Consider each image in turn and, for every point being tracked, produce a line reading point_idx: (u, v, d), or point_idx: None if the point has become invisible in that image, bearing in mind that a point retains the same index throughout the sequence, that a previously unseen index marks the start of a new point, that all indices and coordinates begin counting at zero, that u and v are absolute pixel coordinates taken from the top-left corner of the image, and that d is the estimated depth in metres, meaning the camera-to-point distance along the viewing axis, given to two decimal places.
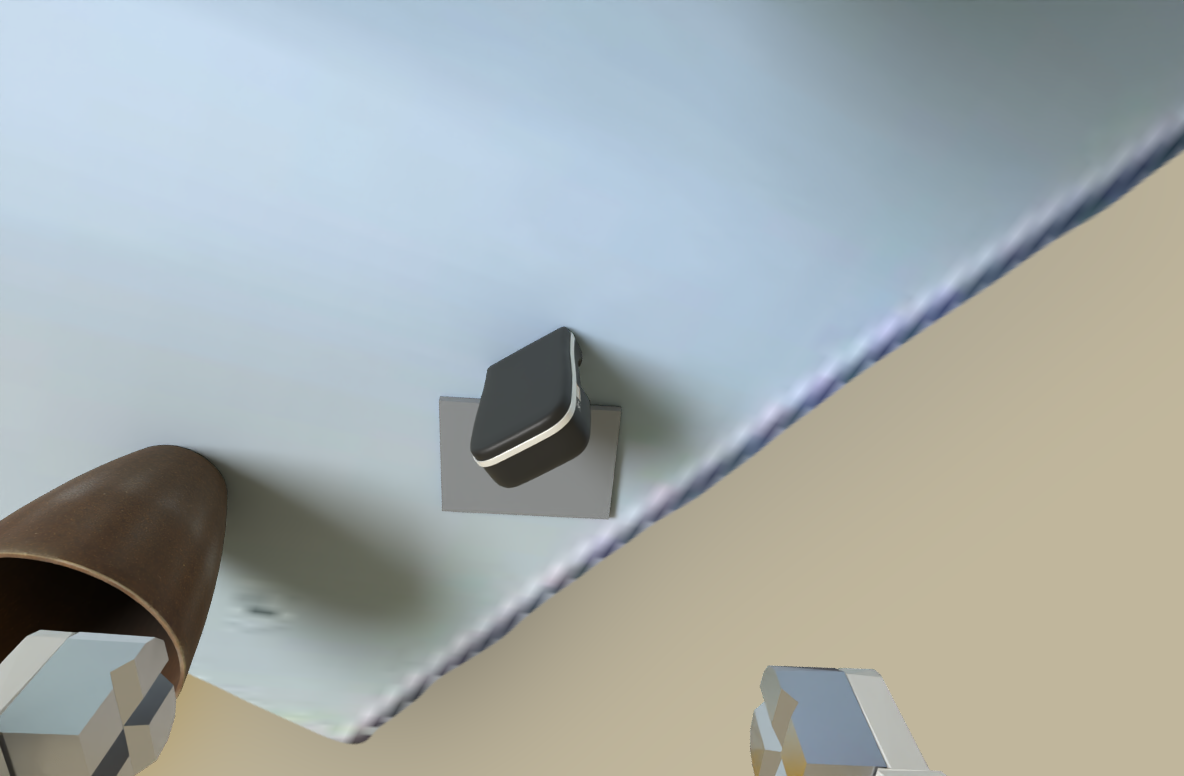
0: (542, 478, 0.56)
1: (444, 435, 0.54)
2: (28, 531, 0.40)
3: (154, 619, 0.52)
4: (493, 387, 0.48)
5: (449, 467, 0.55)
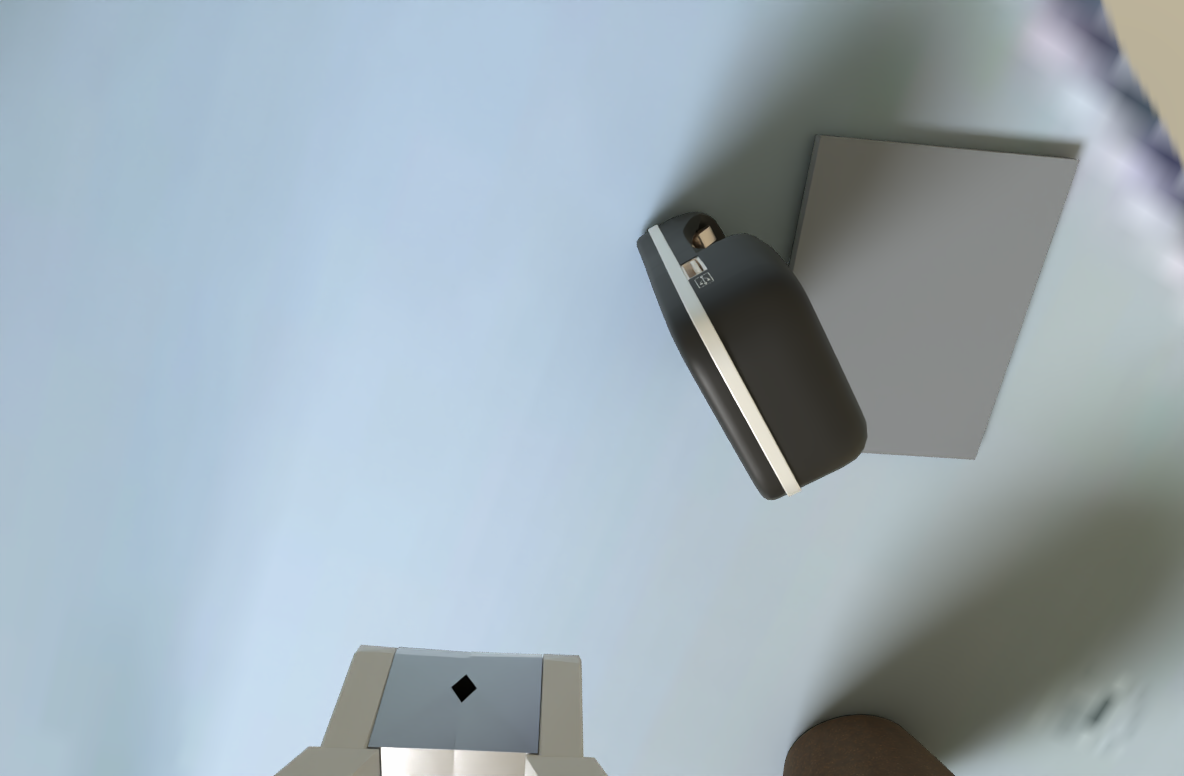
0: (945, 290, 0.30)
1: None
2: None
3: None
4: None
5: (888, 442, 0.32)
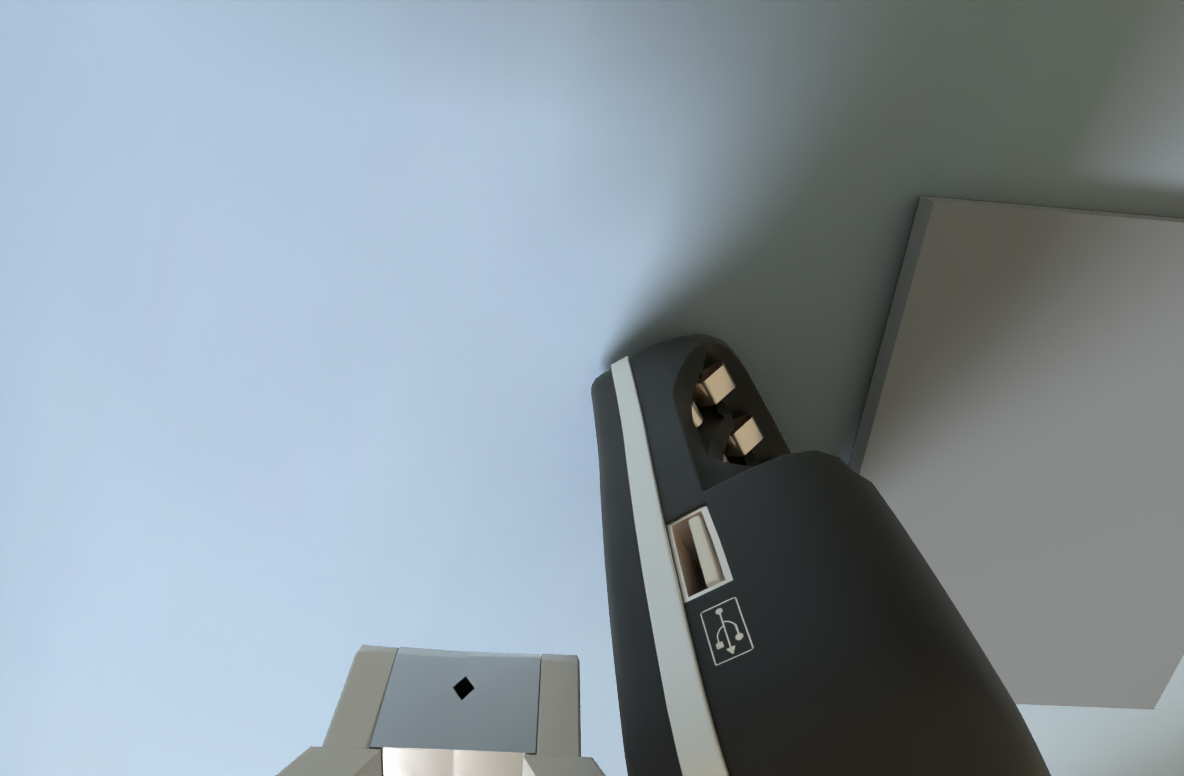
0: (1136, 461, 0.17)
1: None
2: None
3: None
4: None
5: (1014, 687, 0.20)
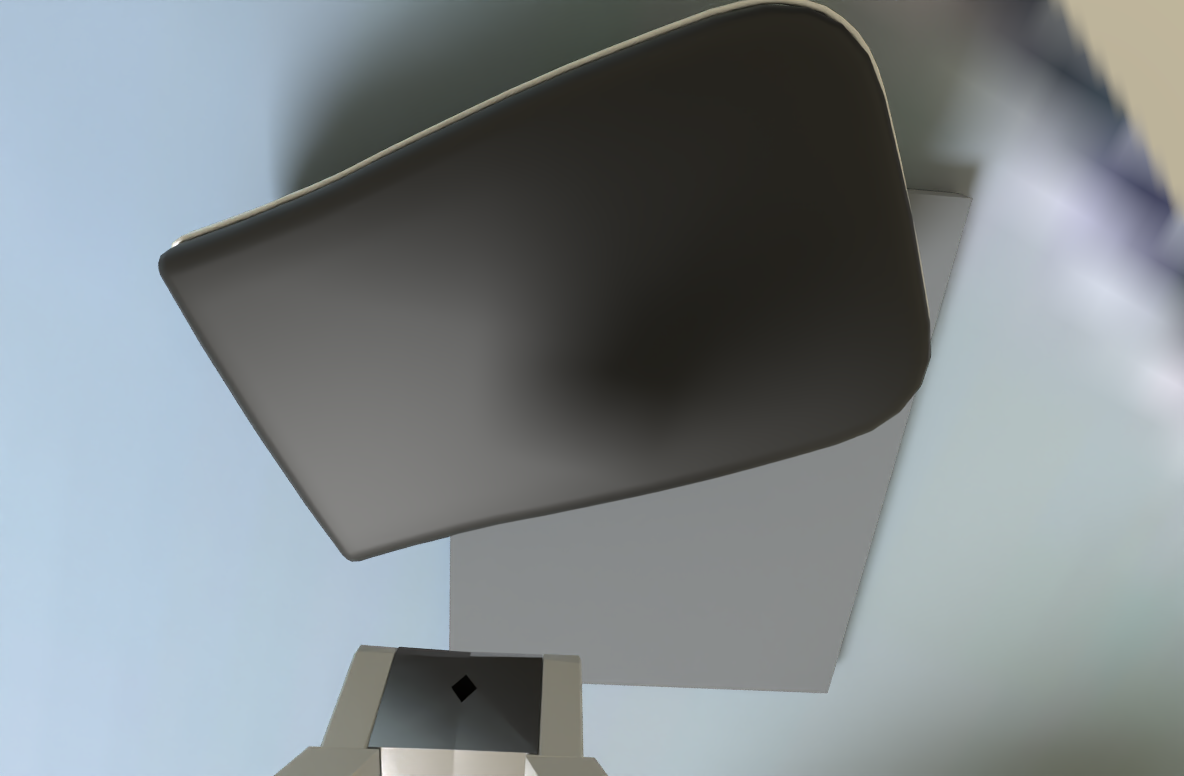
0: None
1: None
2: None
3: None
4: (501, 477, 0.13)
5: (674, 669, 0.19)
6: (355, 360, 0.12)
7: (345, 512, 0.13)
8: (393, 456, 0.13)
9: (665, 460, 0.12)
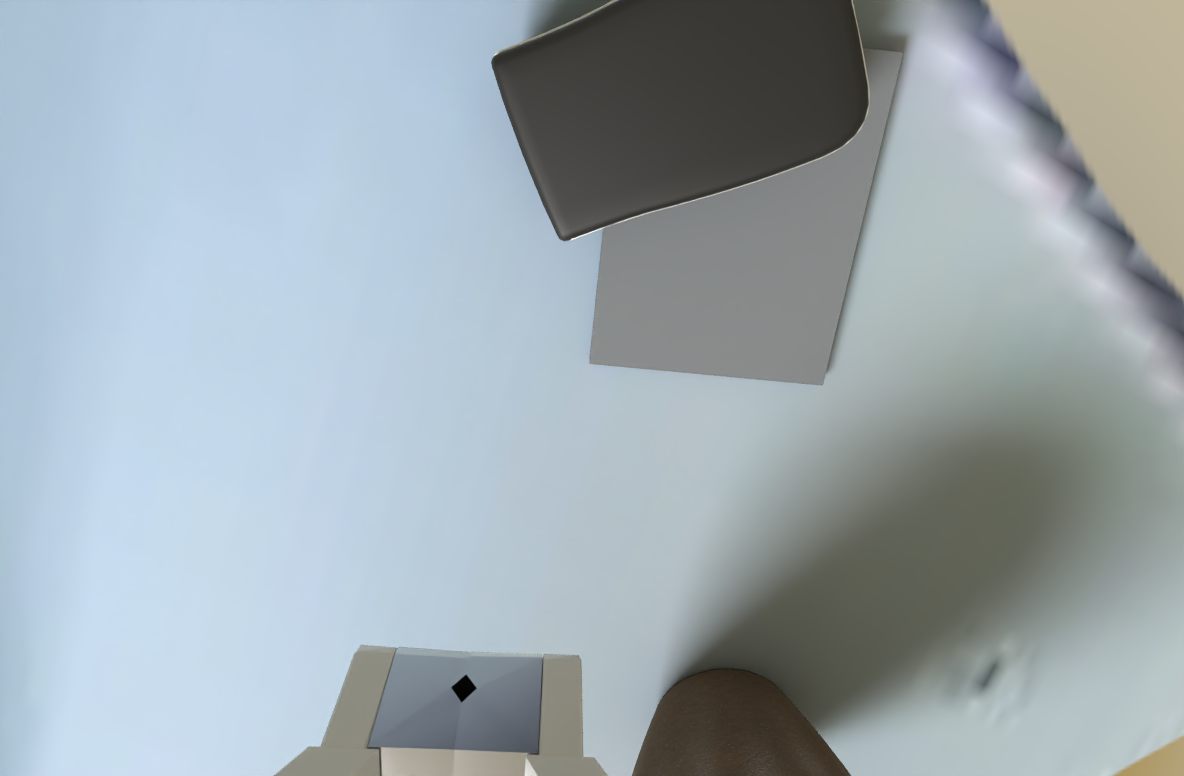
0: (773, 195, 0.28)
1: (658, 362, 0.31)
2: None
3: None
4: (651, 179, 0.25)
5: (728, 363, 0.31)
6: (584, 111, 0.24)
7: (565, 205, 0.26)
8: (596, 168, 0.25)
9: (737, 165, 0.24)
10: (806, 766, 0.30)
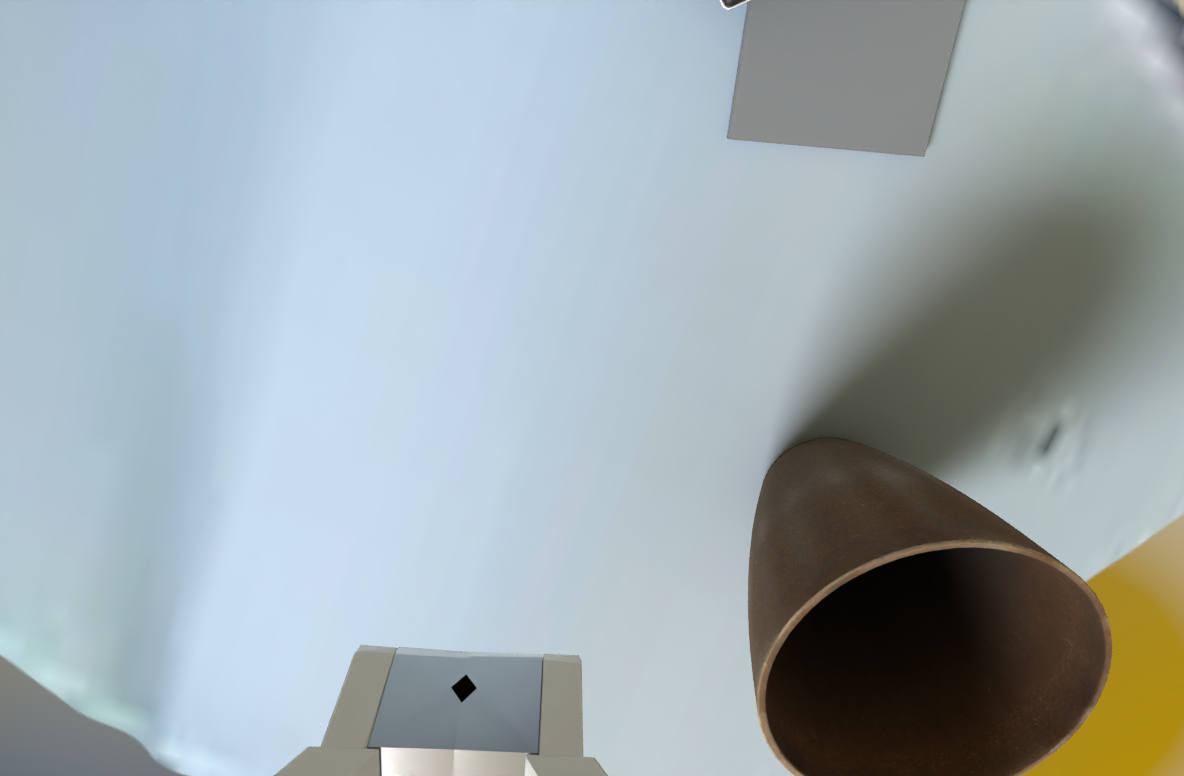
0: None
1: (787, 137, 0.37)
2: (754, 650, 0.33)
3: (979, 562, 0.38)
4: None
5: (846, 136, 0.37)
6: None
7: None
8: None
9: None
10: (918, 471, 0.36)
